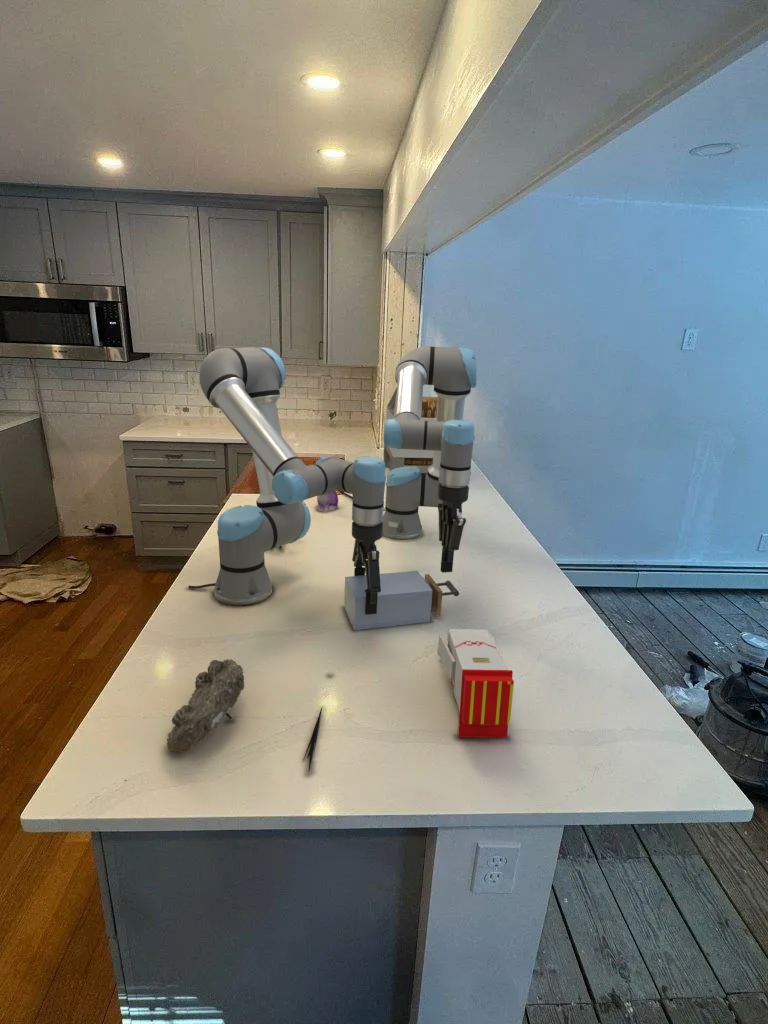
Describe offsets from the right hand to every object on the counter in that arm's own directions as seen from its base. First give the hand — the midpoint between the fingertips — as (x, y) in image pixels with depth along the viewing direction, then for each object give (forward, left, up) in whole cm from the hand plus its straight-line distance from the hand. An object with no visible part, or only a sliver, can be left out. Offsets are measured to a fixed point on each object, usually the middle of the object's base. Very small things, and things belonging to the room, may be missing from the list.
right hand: (446, 571), depth 147 cm
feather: (+16, -50, -11) cm, 54 cm away
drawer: (-4, -8, -10) cm, 14 cm away
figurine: (-82, +20, -11) cm, 85 cm away
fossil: (+3, -66, -11) cm, 67 cm away
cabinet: (-7, -14, -11) cm, 19 cm away
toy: (+28, -21, -11) cm, 36 cm away
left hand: (-9, -20, -7) cm, 23 cm away
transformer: (-99, +87, -11) cm, 132 cm away
